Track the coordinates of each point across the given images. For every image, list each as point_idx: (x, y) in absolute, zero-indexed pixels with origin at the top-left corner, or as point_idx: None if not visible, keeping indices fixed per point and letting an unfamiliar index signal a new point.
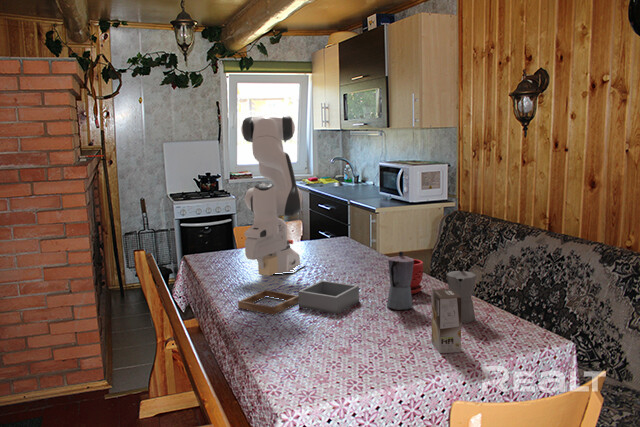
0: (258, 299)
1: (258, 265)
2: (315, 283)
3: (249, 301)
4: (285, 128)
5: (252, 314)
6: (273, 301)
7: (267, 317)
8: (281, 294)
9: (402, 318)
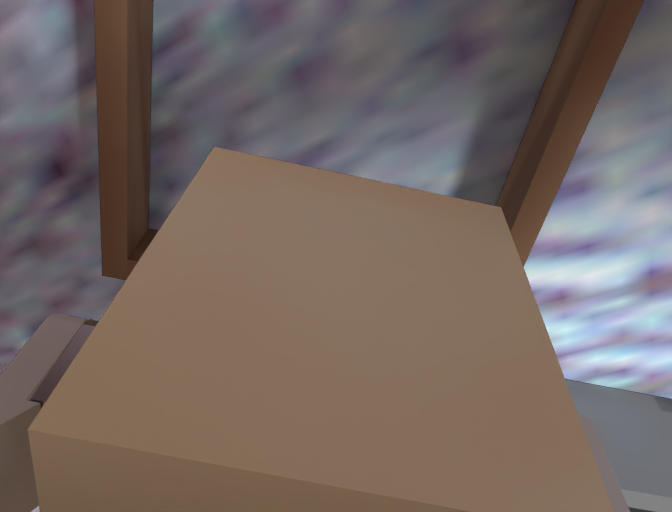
0: None
1: (148, 254)
2: (625, 491)
3: None
4: None
5: (47, 68)
6: (462, 91)
7: (60, 221)
8: (529, 176)
9: None
